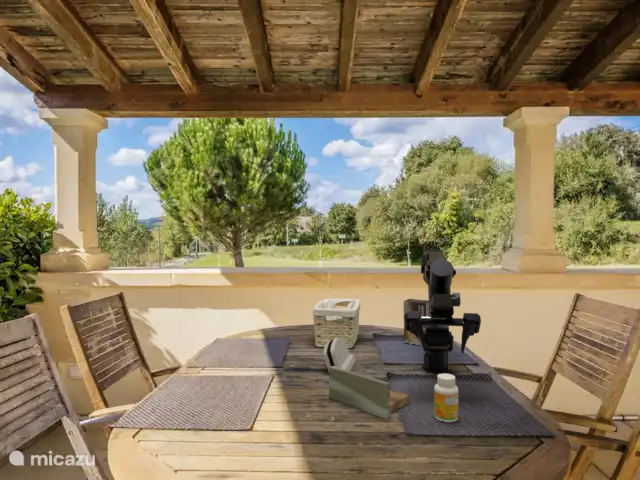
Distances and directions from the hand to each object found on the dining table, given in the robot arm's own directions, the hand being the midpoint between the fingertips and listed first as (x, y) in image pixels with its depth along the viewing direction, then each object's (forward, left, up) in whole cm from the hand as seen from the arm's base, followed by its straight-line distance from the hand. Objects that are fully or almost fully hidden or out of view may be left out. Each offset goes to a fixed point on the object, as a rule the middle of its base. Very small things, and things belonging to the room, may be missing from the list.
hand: (443, 351), depth 109 cm
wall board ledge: (+16, -9, -13) cm, 22 cm away
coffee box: (-25, -50, -13) cm, 57 cm away
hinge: (+13, -36, -14) cm, 40 cm away
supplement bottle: (+4, +6, -13) cm, 15 cm away
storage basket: (+1, -65, -14) cm, 66 cm away
